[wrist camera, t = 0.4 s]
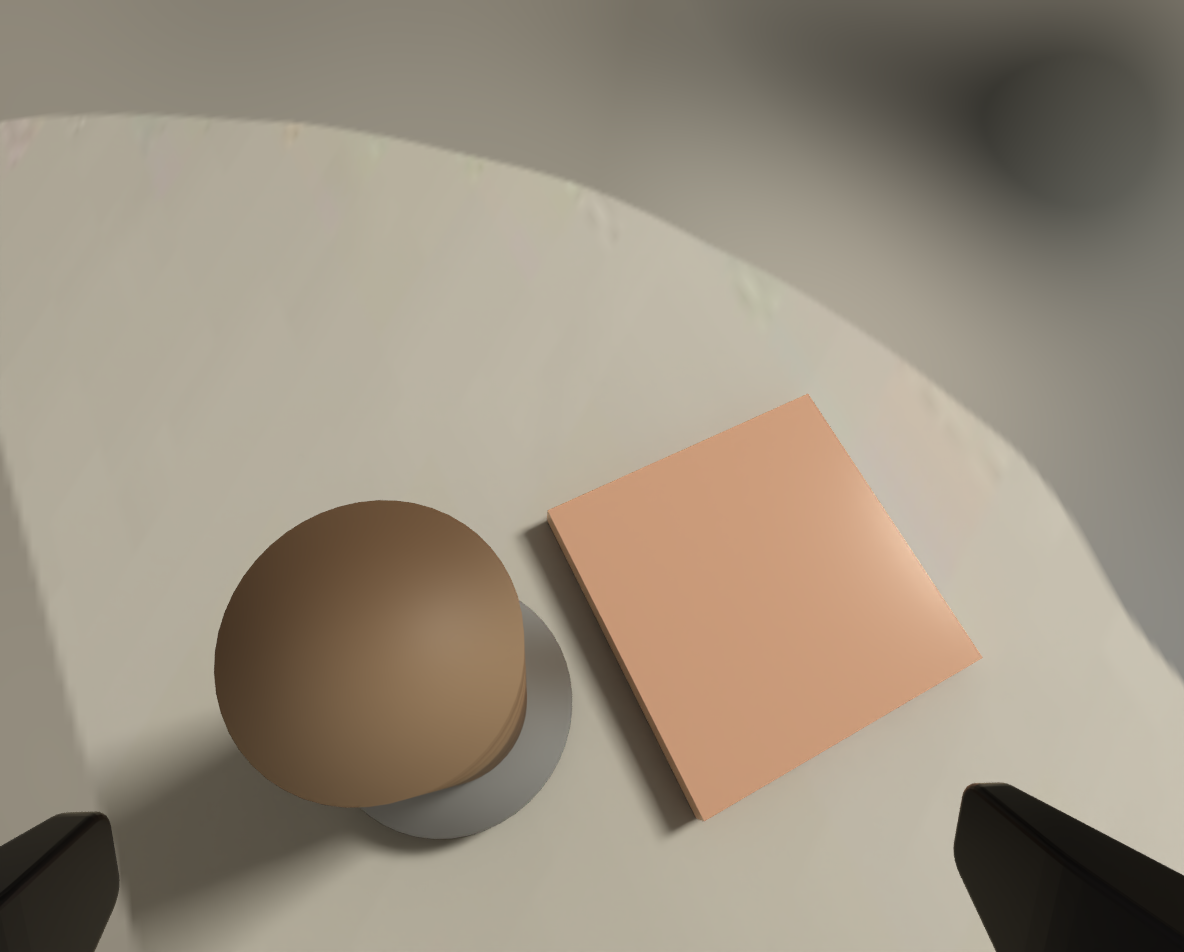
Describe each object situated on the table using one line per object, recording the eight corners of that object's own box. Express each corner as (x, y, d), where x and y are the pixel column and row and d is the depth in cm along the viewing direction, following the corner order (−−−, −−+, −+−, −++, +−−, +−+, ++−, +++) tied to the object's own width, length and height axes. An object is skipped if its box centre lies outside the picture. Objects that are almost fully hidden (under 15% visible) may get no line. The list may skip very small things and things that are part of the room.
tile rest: (964, 661, 23) (982, 657, 23) (696, 818, 21) (704, 821, 20) (798, 406, 26) (808, 393, 26) (547, 520, 24) (547, 510, 23)
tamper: (610, 761, 22) (696, 756, 10) (383, 885, 20) (199, 1034, 9) (511, 552, 24) (494, 364, 13) (298, 650, 22) (62, 533, 11)
